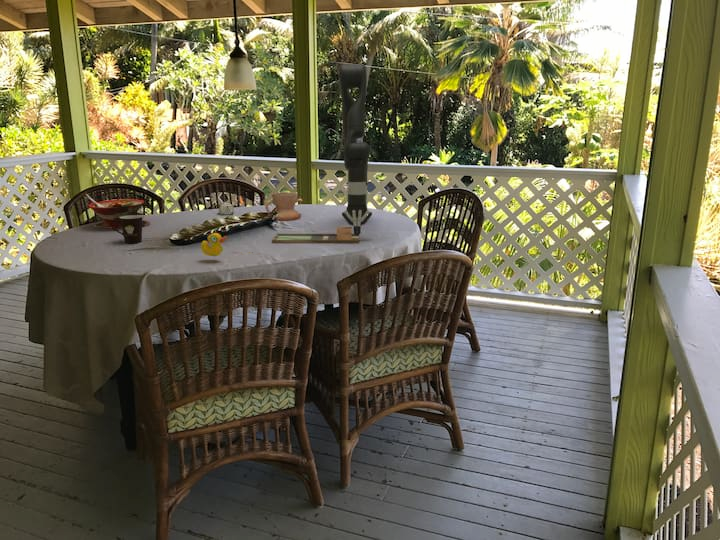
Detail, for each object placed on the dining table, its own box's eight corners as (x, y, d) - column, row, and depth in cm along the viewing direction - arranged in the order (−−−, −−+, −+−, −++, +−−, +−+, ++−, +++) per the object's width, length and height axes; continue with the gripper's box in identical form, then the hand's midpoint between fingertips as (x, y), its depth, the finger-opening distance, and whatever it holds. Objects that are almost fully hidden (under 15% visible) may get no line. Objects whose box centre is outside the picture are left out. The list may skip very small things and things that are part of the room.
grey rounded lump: (231, 221, 281) (229, 200, 278) (214, 220, 283) (213, 200, 280) (238, 218, 289) (237, 198, 287) (222, 217, 291) (221, 198, 289)
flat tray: (276, 236, 244) (276, 233, 244) (359, 236, 244) (359, 233, 244) (272, 243, 231) (271, 240, 231) (359, 243, 231) (359, 240, 231)
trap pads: (312, 236, 243) (312, 235, 243) (340, 237, 243) (340, 235, 243) (309, 242, 232) (309, 241, 232) (339, 242, 232) (339, 241, 232)
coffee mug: (149, 240, 236) (147, 215, 233) (134, 244, 228) (132, 219, 225) (126, 238, 240) (123, 214, 237) (111, 242, 232) (108, 217, 229)
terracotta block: (337, 237, 240) (337, 226, 239) (351, 237, 240) (351, 226, 239) (336, 240, 234) (336, 229, 233) (351, 240, 235) (351, 229, 233)
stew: (73, 231, 255) (69, 195, 251) (113, 222, 277) (110, 189, 273) (123, 235, 245) (119, 198, 241) (161, 226, 267) (158, 192, 263)
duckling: (229, 255, 210) (228, 232, 208) (224, 257, 205) (223, 234, 203) (205, 254, 211) (203, 231, 209) (199, 256, 207) (197, 233, 205)
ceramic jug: (299, 219, 288) (298, 190, 284) (306, 224, 274) (305, 194, 271) (263, 221, 282) (262, 192, 279) (268, 226, 269) (267, 195, 265)
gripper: (372, 191, 236) (372, 233, 241) (340, 191, 236) (341, 233, 241) (373, 193, 229) (373, 236, 233) (340, 193, 229) (340, 236, 233)
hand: (356, 234), depth 237 cm, fingers closed
